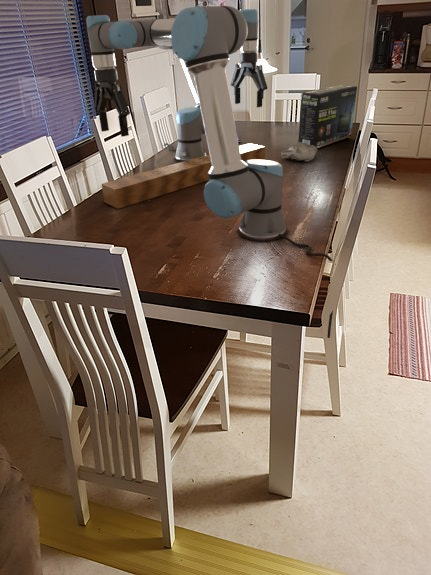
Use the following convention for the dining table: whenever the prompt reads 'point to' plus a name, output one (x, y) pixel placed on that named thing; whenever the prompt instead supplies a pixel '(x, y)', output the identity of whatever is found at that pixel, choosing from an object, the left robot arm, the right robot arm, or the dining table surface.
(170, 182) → the wooden beam
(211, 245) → the dining table surface
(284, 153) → the fossil
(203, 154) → the left robot arm
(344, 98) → the router box
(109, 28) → the right robot arm
